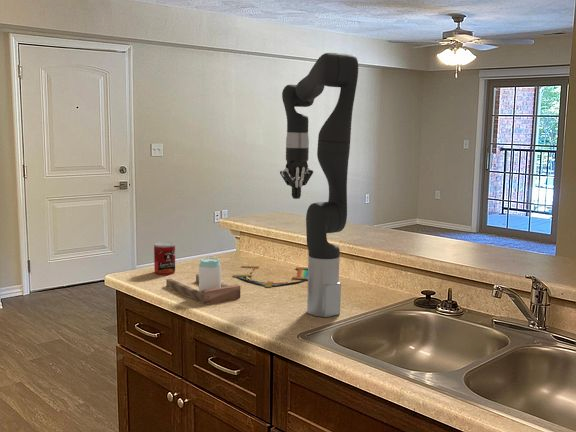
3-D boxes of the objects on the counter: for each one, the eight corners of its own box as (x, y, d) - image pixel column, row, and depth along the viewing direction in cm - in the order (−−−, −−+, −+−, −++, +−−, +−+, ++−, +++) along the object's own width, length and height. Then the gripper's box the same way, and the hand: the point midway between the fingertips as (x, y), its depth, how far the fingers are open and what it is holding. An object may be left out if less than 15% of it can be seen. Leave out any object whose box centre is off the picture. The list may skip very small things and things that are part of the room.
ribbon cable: (308, 290, 210) (314, 269, 239) (308, 287, 210) (314, 267, 239) (224, 288, 213) (240, 267, 242) (224, 285, 213) (240, 264, 242)
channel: (240, 297, 199) (240, 285, 198) (205, 304, 191) (205, 291, 190) (199, 280, 219) (199, 269, 218) (166, 286, 211) (166, 274, 210)
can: (225, 295, 201) (225, 259, 199) (211, 300, 195) (210, 263, 193) (209, 291, 205) (208, 256, 203) (194, 296, 199) (194, 260, 197)
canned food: (158, 276, 225) (158, 246, 223) (151, 271, 232) (151, 242, 230) (178, 273, 229) (178, 244, 227) (171, 269, 235) (170, 241, 234)
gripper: (288, 147, 197) (287, 201, 199) (319, 146, 205) (318, 198, 207) (274, 146, 203) (273, 198, 205) (305, 145, 211) (304, 196, 213)
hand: (296, 198), depth 206 cm, fingers closed
